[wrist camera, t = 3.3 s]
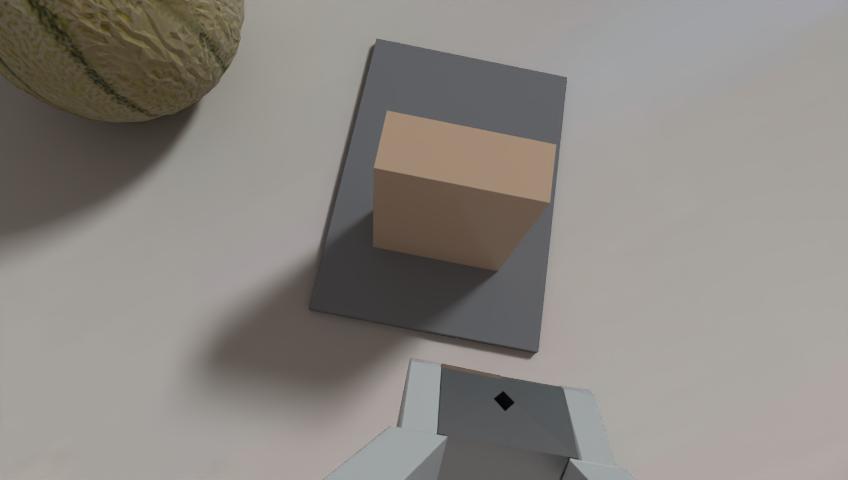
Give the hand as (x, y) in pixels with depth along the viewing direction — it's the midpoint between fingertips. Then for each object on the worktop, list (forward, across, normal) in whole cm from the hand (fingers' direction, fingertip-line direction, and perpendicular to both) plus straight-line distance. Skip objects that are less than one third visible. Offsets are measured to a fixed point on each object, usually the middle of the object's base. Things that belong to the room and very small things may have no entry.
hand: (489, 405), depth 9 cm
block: (+25, 0, +9) cm, 27 cm away
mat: (+29, 0, +6) cm, 29 cm away
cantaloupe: (+32, +22, +3) cm, 38 cm away
